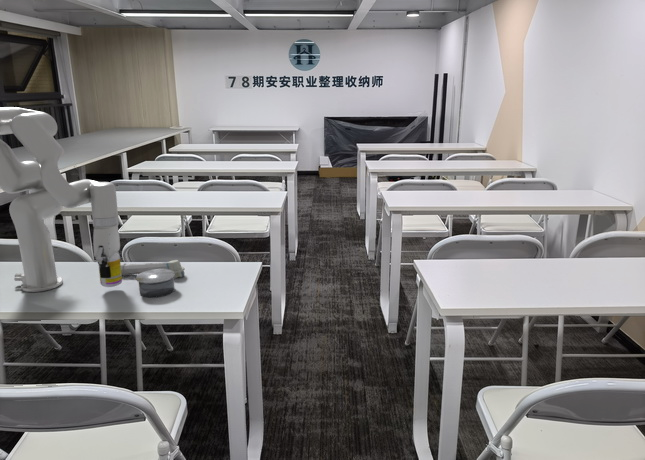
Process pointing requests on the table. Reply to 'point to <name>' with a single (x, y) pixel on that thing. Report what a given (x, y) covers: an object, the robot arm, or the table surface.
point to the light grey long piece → (139, 268)
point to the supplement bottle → (113, 272)
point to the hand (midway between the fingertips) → (110, 273)
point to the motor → (156, 282)
